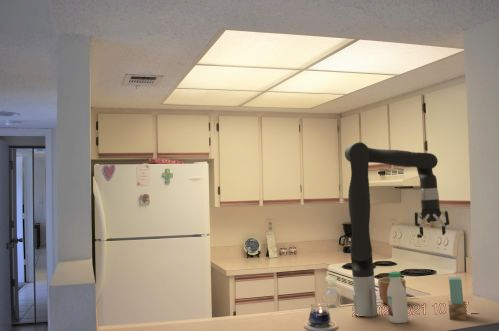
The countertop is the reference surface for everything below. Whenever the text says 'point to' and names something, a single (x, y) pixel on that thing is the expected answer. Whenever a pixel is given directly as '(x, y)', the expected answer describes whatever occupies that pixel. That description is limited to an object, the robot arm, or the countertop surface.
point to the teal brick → (456, 290)
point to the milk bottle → (397, 299)
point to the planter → (386, 287)
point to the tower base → (458, 316)
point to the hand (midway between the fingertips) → (432, 235)
